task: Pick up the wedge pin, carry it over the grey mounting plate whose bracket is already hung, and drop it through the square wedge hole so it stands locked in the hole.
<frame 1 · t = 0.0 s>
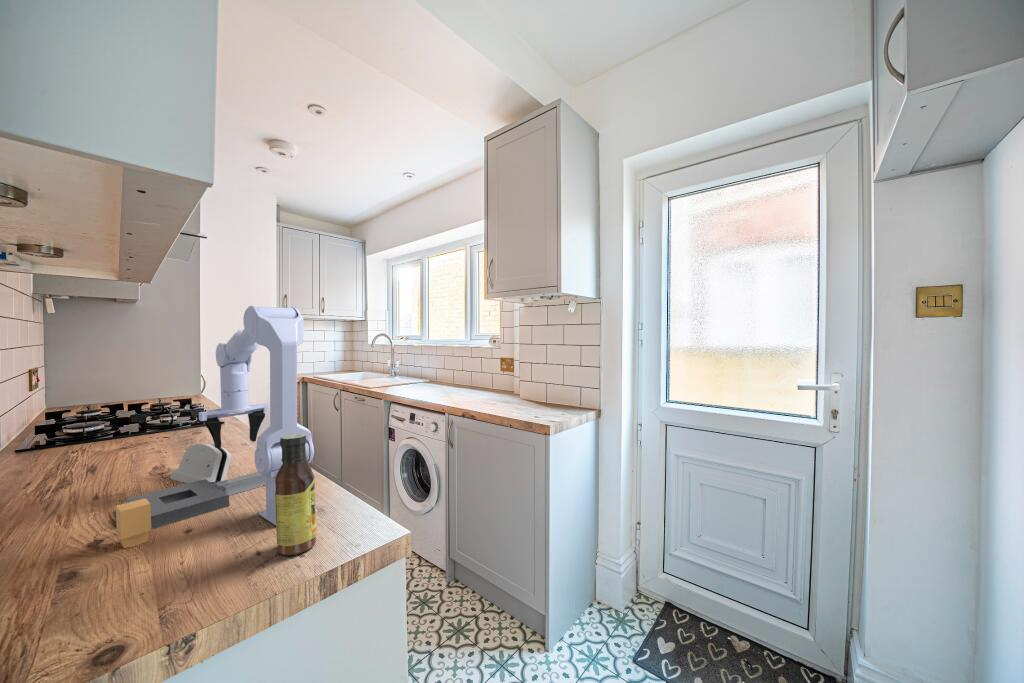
hand: (236, 444, 101), 10 cm above the counter, tool pointing down, fingers open, 7 cm apart
wedge pin: (134, 542, 72), on the counter
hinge: (202, 479, 105), on the counter
sauce bottle: (297, 548, 70), on the counter
grey mounting plate: (178, 507, 87), on the counter
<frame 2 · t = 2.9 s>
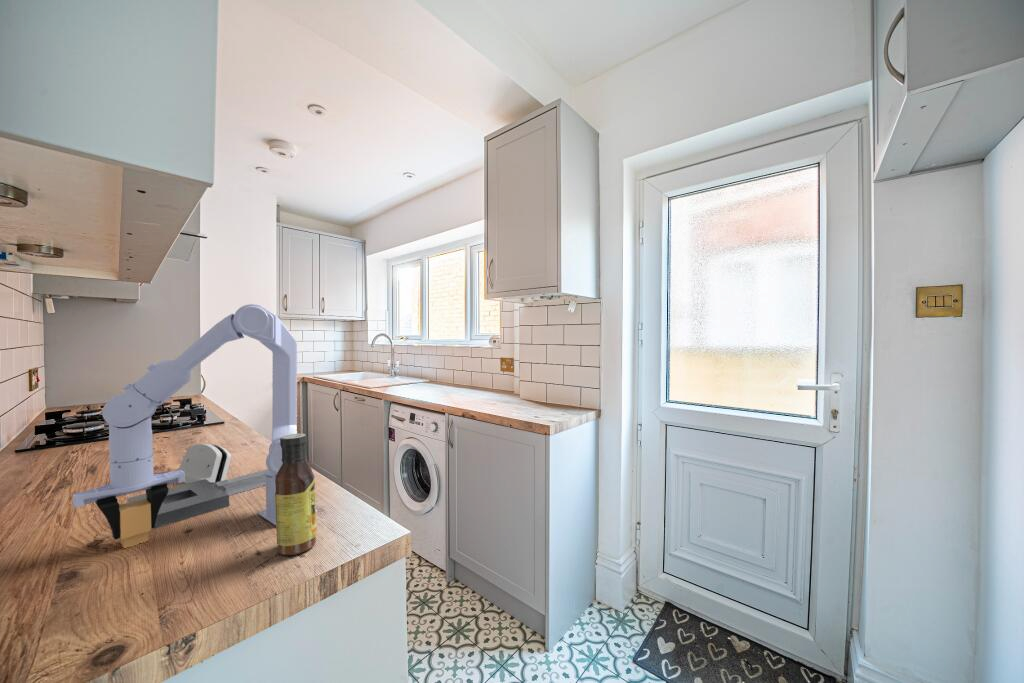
hand: (134, 532, 72), 2 cm above the counter, tool pointing down, fingers closed on wedge pin, 4 cm apart
wedge pin: (134, 542, 72), on the counter, touching gripper
everything else where it was.
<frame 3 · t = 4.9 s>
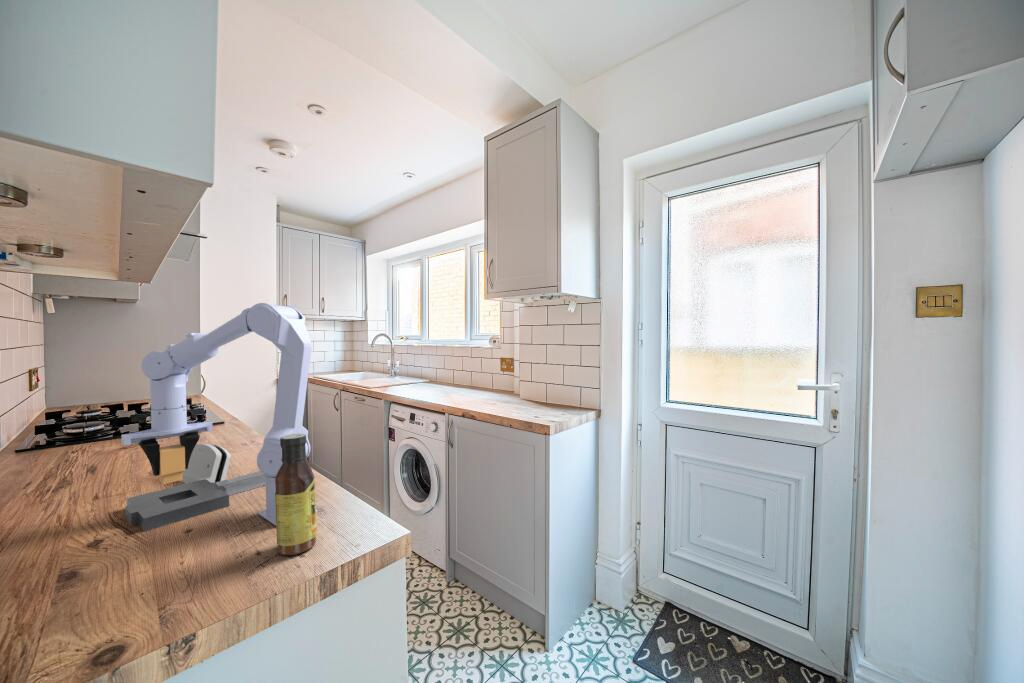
hand: (170, 471, 84), 9 cm above the counter, tool pointing down, fingers closed on wedge pin, 4 cm apart
wedge pin: (170, 480, 84), point 7 cm above the counter, touching gripper
everything else where it was.
when the fingers open (4 cm above the counter, at t = 7.1 s): wedge pin drops 2 cm, resting in grey mounting plate.
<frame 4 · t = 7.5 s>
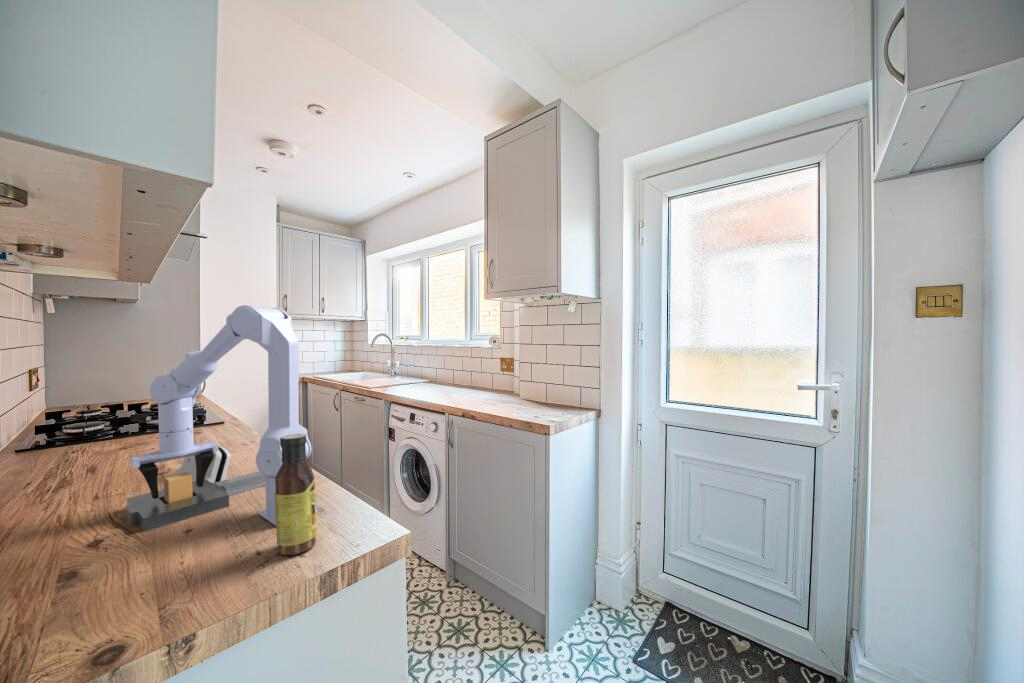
hand: (178, 491, 87), 4 cm above the counter, tool pointing down, fingers open, 7 cm apart
wedge pin: (178, 507, 87), resting in grey mounting plate
everything else where it was.
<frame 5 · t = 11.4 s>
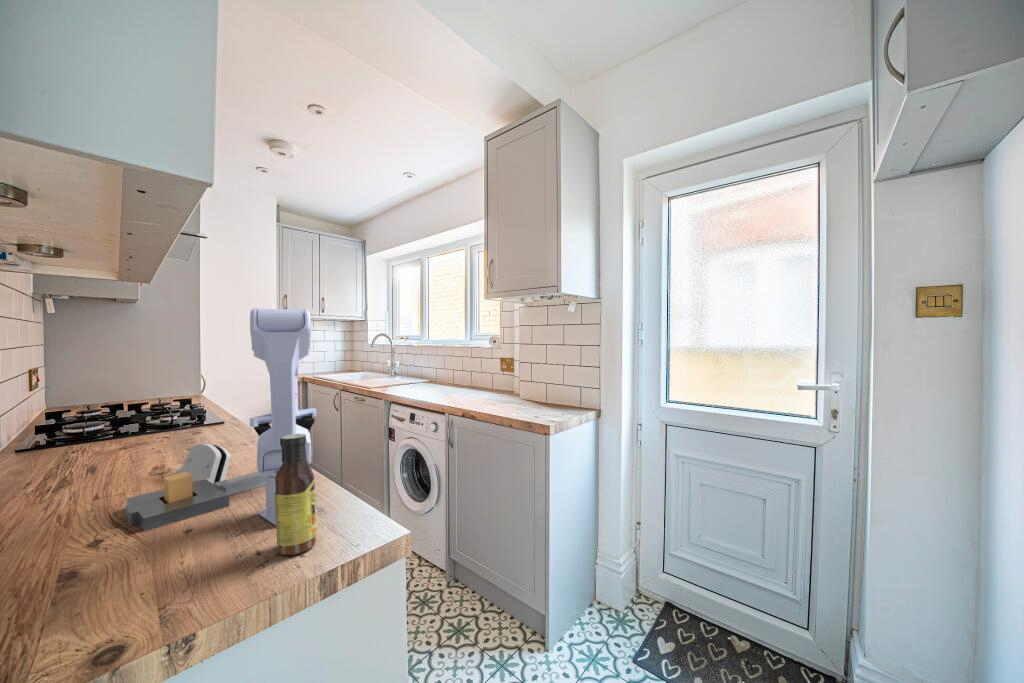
hand: (285, 450, 97), 9 cm above the counter, tool pointing down, fingers open, 7 cm apart
nothing on the counter moved.
at the end: wedge pin 0.0 cm off-centre on the grey mounting plate, point 0.0 cm above the grey mounting plate's base; wedge pin tilted 0°; the gripper is holding nothing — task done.
